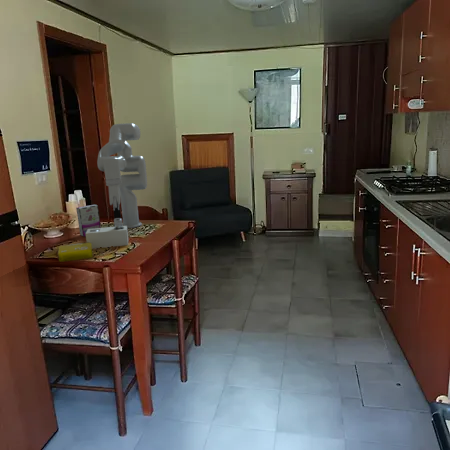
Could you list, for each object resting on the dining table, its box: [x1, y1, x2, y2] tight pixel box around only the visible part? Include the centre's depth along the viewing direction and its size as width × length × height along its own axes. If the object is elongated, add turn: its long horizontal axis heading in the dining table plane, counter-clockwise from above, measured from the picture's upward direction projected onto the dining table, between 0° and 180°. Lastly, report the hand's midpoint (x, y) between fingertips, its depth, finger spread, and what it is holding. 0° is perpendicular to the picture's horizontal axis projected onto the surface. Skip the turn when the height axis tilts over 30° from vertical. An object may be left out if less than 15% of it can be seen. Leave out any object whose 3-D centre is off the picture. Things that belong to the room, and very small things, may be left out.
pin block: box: [85, 226, 129, 249], centre depth 214 cm, size 10×20×8 cm, turn 101°
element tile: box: [57, 242, 94, 263], centre depth 197 cm, size 15×15×5 cm
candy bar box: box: [75, 204, 102, 237], centre depth 237 cm, size 11×5×16 cm, turn 131°
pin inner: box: [113, 217, 123, 230], centre depth 213 cm, size 4×4×6 cm
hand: (117, 217), depth 212 cm, fingers closed
